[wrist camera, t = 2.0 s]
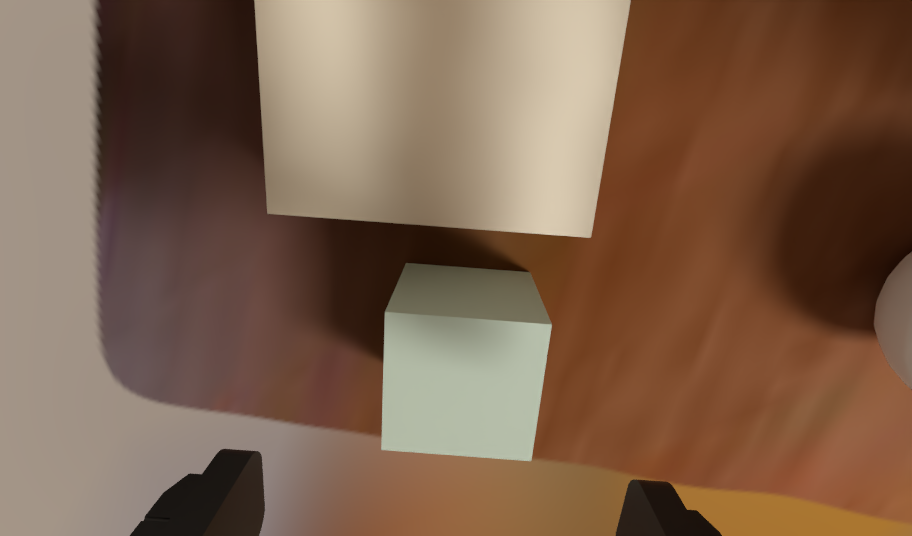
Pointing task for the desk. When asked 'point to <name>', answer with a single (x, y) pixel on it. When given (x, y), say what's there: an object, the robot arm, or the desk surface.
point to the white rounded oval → (896, 320)
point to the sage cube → (463, 362)
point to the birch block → (439, 110)
